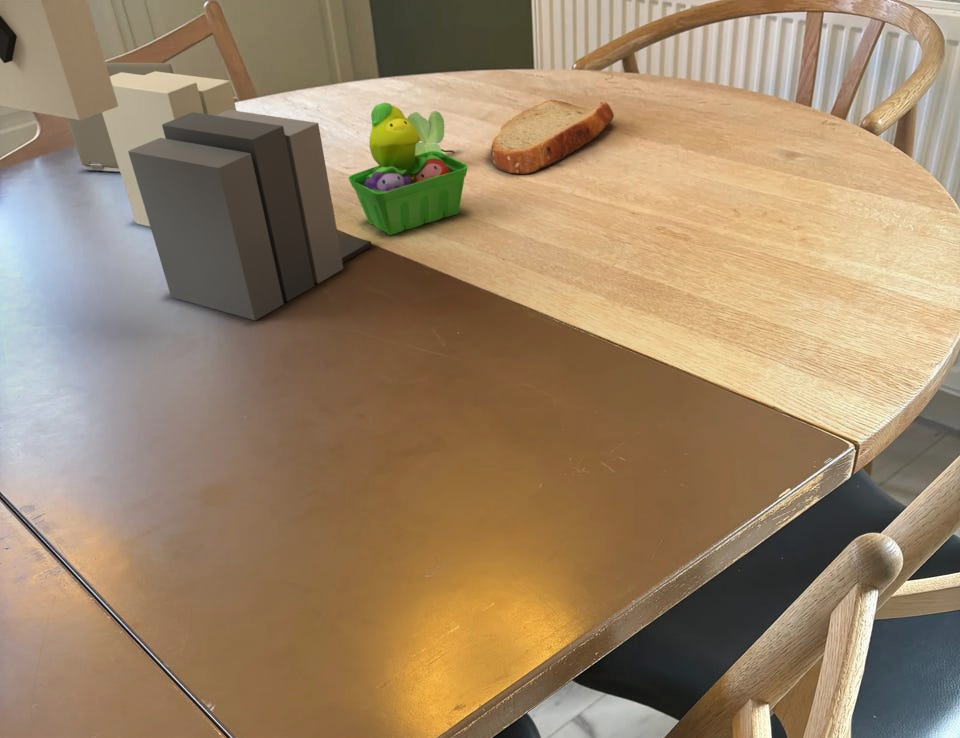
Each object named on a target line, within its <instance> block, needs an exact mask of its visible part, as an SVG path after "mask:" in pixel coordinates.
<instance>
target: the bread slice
mask: <svg viewBox="0 0 960 738" xmlns="http://www.w3.org/2000/svg"><path fill="white" fill-rule="evenodd" d="M599 103H600V104H599V106H597V107H594V108H586V107H582V106H578V105H574V104H571V103H569V102H565V101H562V100H557V99H547V100H546V101H543V102H542V103H539V104H537V105H535V106H532V107H530V108H528V109H526V110H522V111H521V112H520V113H519V114H516V115H514V117H512V119H509V120H507V121H506V122H505V123H503V125H502V126H501V127H500V132H499V133H498V134H497V135H496V136H495V137H494V138H493V140H492V144H491V149H490V159H491V162H492V164H493V165H494V166H495V167H496V168H498V169H499V170H501V171H503V172H507V173H509V174H517V175H526V174H531V173H534V172H537V171H539V170H540V169H543V168H546V167H548V166H550V165H554V164H555V163H556V162H558V161H561V160H563V159H564V158H565V156H566V157H567V156H569V155H571V154H572V153H573V152H575V151H578V150H579V149H581V148H582V147H583V146H585V145H587V144H588V143H589V142H590V141H592V140H594V139H596V138H597V137H598V136H599V135H600V134H601V133H602V131H604V129H605V128H606V127H607V125H609V124H610V123H611V121H613V119H614V117H615V113H614V111H613V109H612V107H611V106H610V105H609V103H607V102H606V101H604V102H603V101H599Z"/></svg>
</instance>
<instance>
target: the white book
mask: <svg viewBox="0 0 960 738" xmlns="http://www.w3.org/2000/svg"><path fill="white" fill-rule="evenodd" d="M0 16H1V17H2V18H3V19H4V21H5V22H6V23H7V24H8V26H9V27H10V28H11V29H12V31H13V32H14V33H15V34H16V35H17V38H16V43H15V49H14V54H13V59H12V61H10V62H7V63H4V62H3V61H2V60H1V58H0V107H3V108H7V109H8V108H9V109H15V110H20V111H24V112H25V111H26V112H30V113H36V114H42V115H48V116H53V117H59V118H64V119H67V118H69V119H74V120H83V119H86V118H88V117H91V116H94V115H96V114H99V113H102V112H104V111H107V110H110V109H113V108H115V107H118V103H117V100H116V96H115V93H114V89H113V86H112V83H111V79H110V76H109V72H108V69H107V66H106V59H105V56H104V52H103V48H102V46H101V45H102V44H101V42H100V38H99V36H98V32H97V29H96V25H95V21H94V18H93V15H92V11H91V8H90V5H89V2H88V0H0Z"/></svg>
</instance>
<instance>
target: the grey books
mask: <svg viewBox="0 0 960 738" xmlns="http://www.w3.org/2000/svg"><path fill="white" fill-rule="evenodd" d="M162 127H163V131H164V135H165V138H166V139H165V138H158V139H156V140H154V141H151V142H149V143H146V144H144V145H141V146H139V147H136V148H134V149H132V150H129V151H128V153H129V156H130V160H131V163H132V166H133V170H134V173H135V177H136V180H137V183H138V187H139V190H140V193H141V197H142V200H143V203H144V207H145V210H146V214H147V217H148V220H149V224H150V227H149V228H150V231H151V234H152V237H153V241H154V243H155V247H156V250H157V254H158V257H159V261H160V264H161V268H162V271H163V274H164V278H165V280H166V284H167V288H168V291H169V295H170V297H171V298H174V299H177V300H181V301H184V302H187V303H191V304H194V305H198V306H202V307H205V308H208V309H212V310H215V311H219V312H223V313H227V314H230V315H234V316H236V317H241V318H243V319H247V320H252V321H255V322H256V321H258V320H259V319H262V318H263V317H264V316H267V314H270V313H271V312H273V311H274V310H277V309H278V308H280V307H281V306H283V305H284V302H287V303H288V302H290V301H292V300H293V299H295V298H297V297H298V296H300V295H301V294H303V293H305V292H307V291H309V290H311V289H312V288H314V287H315V284H316V285H319V284H320V283H322V282H324V281H325V280H327V279H329V278H330V277H333V276H334V275H336V274H338V273H339V272H341V271H342V270H344V263H346V262H348V261H350V260H352V259H353V258H355V257H357V256H359V255H360V254H362V253H363V252H366V251H367V250H369V249H370V248H372V247H373V243H372V241H371V240H367V239H363V238H357V237H353V236H349V235H343V234H339V233H338V229H337V223H336V217H335V212H334V205H333V201H332V195H331V189H330V188H331V187H330V183H329V177H328V176H329V175H328V170H327V166H326V159H325V153H324V148H323V142H322V136H321V130H320V123H318V122H315V121H307V120H301V119H294V118H288V117H287V118H286V117H281V116H274V115H267V114H261V113H253V112H247V111H240V110H236V111H234V110H227V111H225V112H222V113H220V114H217V115H215V116H214V115H208V114H201V113H195V112H192V113H189V114H187V115H184V116H182V117H179V118H177V119H174V120H172V121H169V122H167V123H164V124H162Z"/></svg>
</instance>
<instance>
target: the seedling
mask: <svg viewBox="0 0 960 738" xmlns="http://www.w3.org/2000/svg"><path fill="white" fill-rule="evenodd" d="M406 118H407V119H408V120H409V121H410V122H411V123H412V124H413V126H414V127H415V128H416V130H417V132H418V134H419V137H420V141H419V142H418V143H417V144H416V148H415V155H418V154H423V153H426V152H429V151H438V152H441V153H452V154H455V153H456V152H455V151H454V150H451V149H447V150H445V149H443V148H441V146H440V143H442V141H443V140H444V137H445V119H444V117H443V115H442V114H441V113H440V111H437V110H433V111H431V112H430V113H429V116H428V120H427V118H426V117H424V116H422V115H421V114H420V113H419V112H416V111H415V112H412V113H410V114H409V115H408V116H407V117H406Z"/></svg>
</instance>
